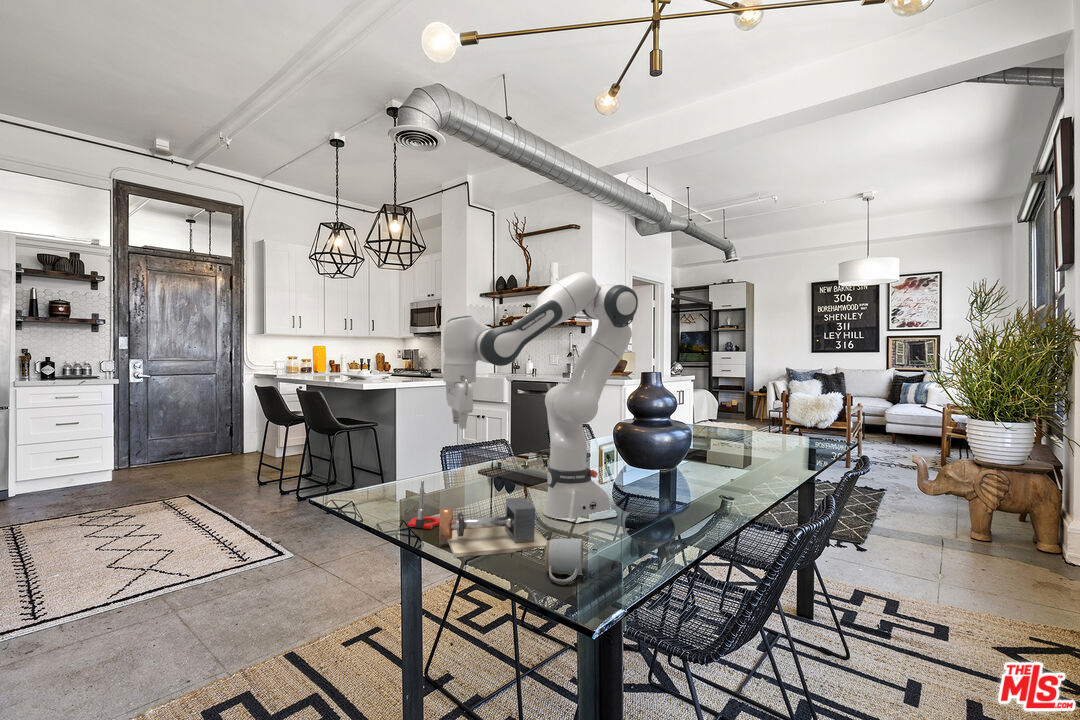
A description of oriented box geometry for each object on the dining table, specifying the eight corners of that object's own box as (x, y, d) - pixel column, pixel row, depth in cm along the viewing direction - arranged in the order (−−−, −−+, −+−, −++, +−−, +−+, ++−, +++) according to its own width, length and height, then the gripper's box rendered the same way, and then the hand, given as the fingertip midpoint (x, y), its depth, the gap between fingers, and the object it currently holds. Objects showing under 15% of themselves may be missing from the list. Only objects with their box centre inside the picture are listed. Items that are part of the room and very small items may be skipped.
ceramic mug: (547, 564, 121) (548, 531, 121) (583, 567, 120) (584, 534, 120) (542, 585, 111) (543, 549, 111) (581, 588, 110) (582, 552, 110)
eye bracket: (523, 528, 143) (524, 497, 143) (534, 541, 133) (535, 508, 133) (504, 530, 141) (505, 498, 141) (514, 543, 132) (516, 509, 131)
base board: (532, 528, 147) (532, 524, 147) (551, 548, 131) (551, 544, 131) (444, 534, 139) (444, 530, 139) (454, 557, 124) (454, 553, 124)
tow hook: (417, 519, 153) (404, 528, 144) (419, 474, 153) (406, 480, 144) (445, 521, 151) (433, 531, 142) (447, 476, 152) (436, 482, 143)
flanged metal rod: (509, 529, 139) (510, 502, 139) (514, 536, 134) (515, 508, 134) (437, 534, 133) (438, 506, 133) (440, 542, 128) (441, 513, 128)
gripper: (479, 377, 136) (478, 431, 136) (464, 373, 155) (464, 420, 155) (454, 377, 134) (454, 432, 134) (442, 373, 153) (442, 421, 153)
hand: (459, 426), depth 145 cm, fingers open, 8 cm apart
